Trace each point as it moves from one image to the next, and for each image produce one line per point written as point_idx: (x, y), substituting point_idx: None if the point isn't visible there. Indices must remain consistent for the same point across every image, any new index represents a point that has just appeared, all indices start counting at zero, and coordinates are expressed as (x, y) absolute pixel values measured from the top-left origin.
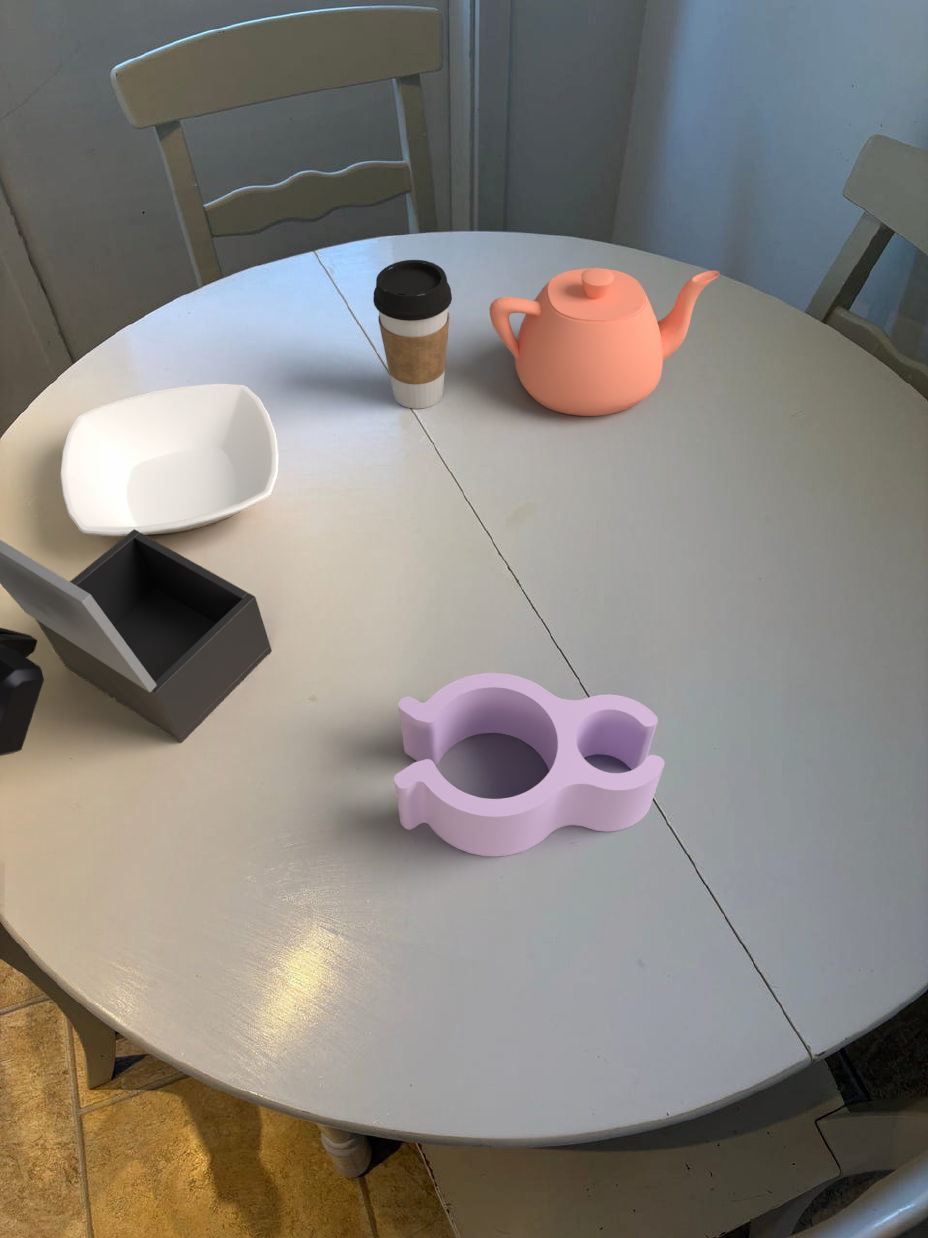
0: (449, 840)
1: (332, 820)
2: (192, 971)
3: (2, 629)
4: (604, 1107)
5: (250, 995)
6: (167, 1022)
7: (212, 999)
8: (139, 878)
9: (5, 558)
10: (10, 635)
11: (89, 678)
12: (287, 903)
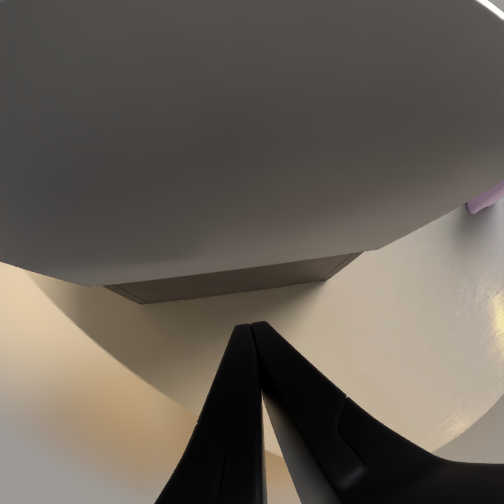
0: (489, 204)
1: (454, 240)
2: (473, 381)
3: (229, 384)
4: None
5: (497, 355)
6: (480, 406)
7: (488, 377)
8: (410, 385)
9: (144, 10)
10: (284, 380)
11: (185, 296)
12: (478, 303)
